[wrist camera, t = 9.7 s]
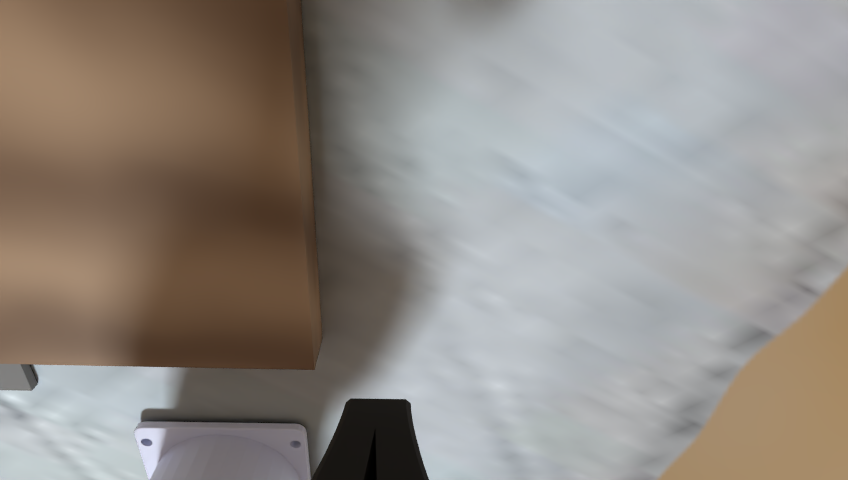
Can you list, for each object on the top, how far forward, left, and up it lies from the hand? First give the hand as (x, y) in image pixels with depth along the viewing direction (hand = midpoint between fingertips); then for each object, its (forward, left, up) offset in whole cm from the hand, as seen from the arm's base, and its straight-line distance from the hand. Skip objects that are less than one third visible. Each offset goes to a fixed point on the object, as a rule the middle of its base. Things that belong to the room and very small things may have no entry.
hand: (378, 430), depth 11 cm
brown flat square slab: (+2, +10, -9) cm, 14 cm away
